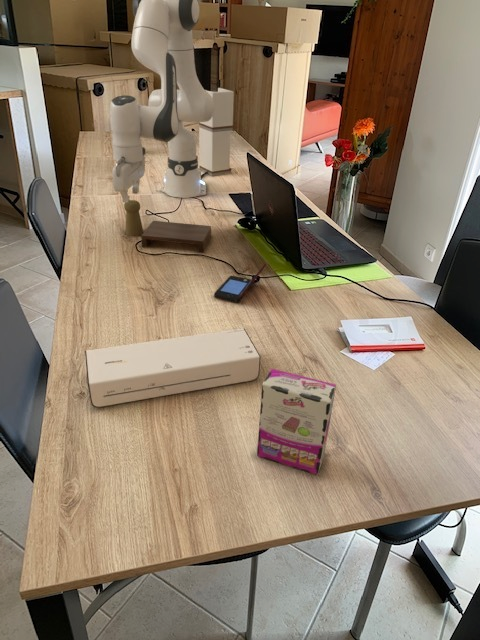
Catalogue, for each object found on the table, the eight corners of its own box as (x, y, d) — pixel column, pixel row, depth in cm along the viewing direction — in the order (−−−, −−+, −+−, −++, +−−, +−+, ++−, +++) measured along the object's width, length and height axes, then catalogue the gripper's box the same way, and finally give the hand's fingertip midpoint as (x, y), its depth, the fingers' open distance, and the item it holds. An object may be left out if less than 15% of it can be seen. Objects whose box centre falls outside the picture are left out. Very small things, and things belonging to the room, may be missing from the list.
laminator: (91, 409, 94) (87, 384, 91) (88, 370, 104) (84, 346, 101) (259, 380, 103) (260, 356, 100) (241, 347, 113) (242, 324, 110)
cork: (139, 237, 163) (137, 205, 158) (122, 235, 164) (119, 203, 158) (146, 230, 168) (143, 199, 163) (129, 228, 169) (126, 197, 163)
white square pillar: (231, 173, 230) (233, 91, 211) (212, 176, 225) (212, 92, 206) (218, 167, 238) (219, 87, 219) (199, 169, 232) (198, 88, 214)
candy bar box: (324, 455, 87) (338, 383, 78) (318, 476, 83) (331, 403, 74) (264, 437, 90) (271, 366, 81) (255, 456, 86) (261, 384, 77)
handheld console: (230, 278, 141) (231, 254, 137) (265, 286, 138) (267, 262, 134) (212, 298, 131) (212, 273, 127) (250, 307, 128) (251, 282, 124)
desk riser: (153, 231, 168) (153, 220, 166) (211, 237, 166) (211, 225, 164) (141, 247, 157) (141, 235, 155) (203, 253, 155) (203, 241, 153)
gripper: (126, 162, 143) (129, 208, 150) (147, 147, 160) (149, 189, 168) (105, 161, 144) (110, 206, 151) (128, 145, 161) (131, 187, 168)
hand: (131, 197), depth 159 cm, fingers open, 8 cm apart
